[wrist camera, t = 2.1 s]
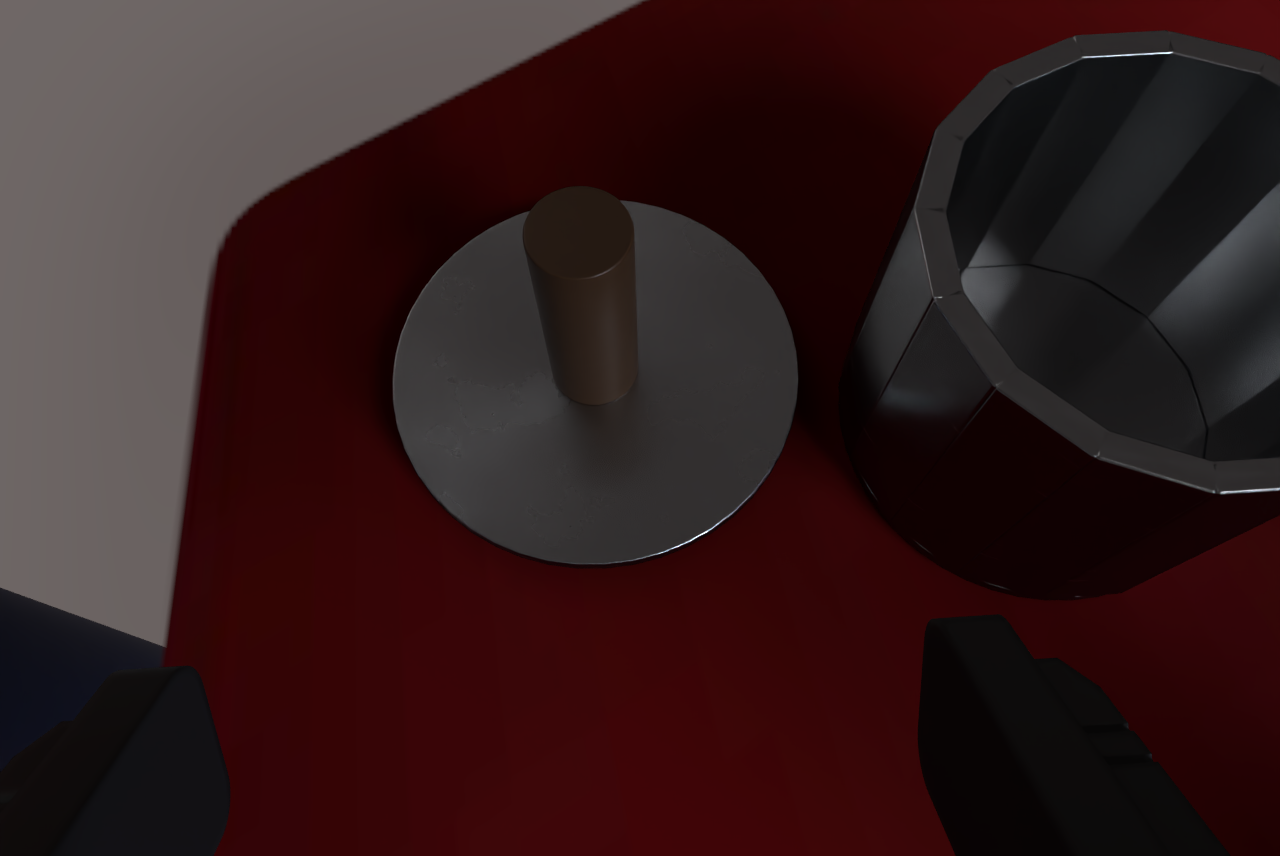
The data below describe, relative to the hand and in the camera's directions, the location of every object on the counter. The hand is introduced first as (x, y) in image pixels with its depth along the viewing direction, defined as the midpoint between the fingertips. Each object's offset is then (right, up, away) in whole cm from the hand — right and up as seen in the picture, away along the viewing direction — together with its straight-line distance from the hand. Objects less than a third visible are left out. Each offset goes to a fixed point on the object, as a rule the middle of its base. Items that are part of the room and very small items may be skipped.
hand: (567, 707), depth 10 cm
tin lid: (-1, +5, +18) cm, 19 cm away
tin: (+13, +3, +18) cm, 22 cm away
